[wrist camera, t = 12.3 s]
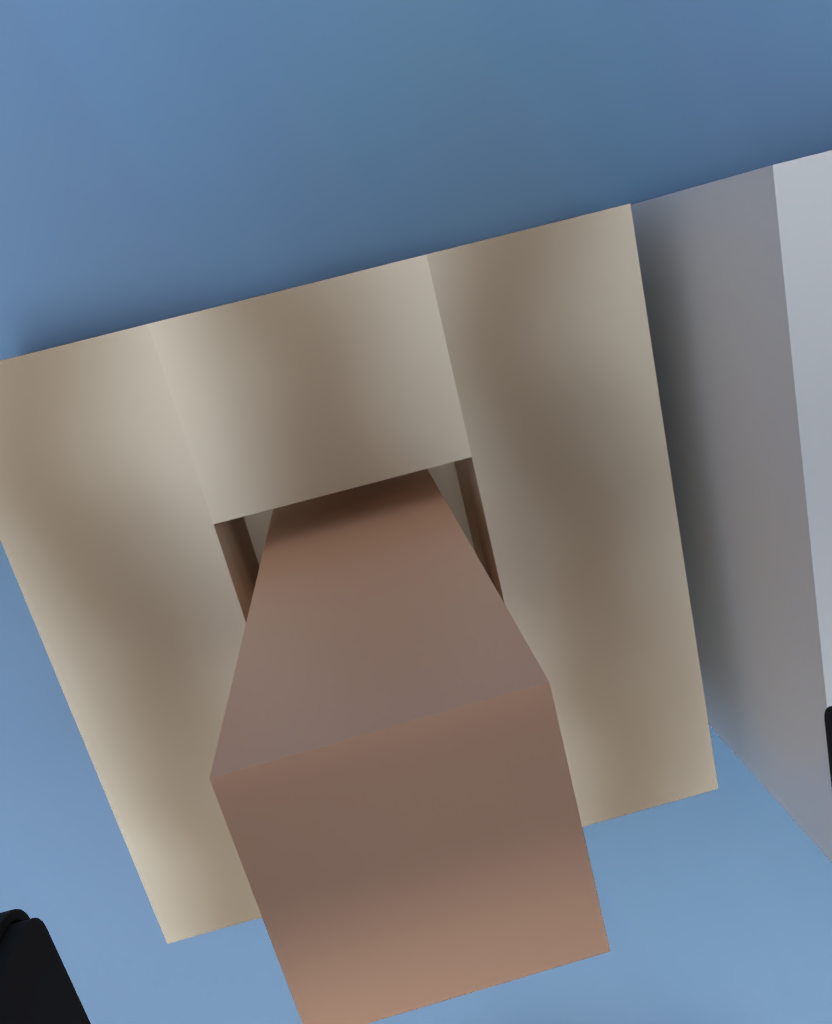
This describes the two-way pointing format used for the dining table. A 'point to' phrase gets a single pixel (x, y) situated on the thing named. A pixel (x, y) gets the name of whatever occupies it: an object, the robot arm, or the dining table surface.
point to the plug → (397, 765)
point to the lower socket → (344, 465)
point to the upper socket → (753, 456)
